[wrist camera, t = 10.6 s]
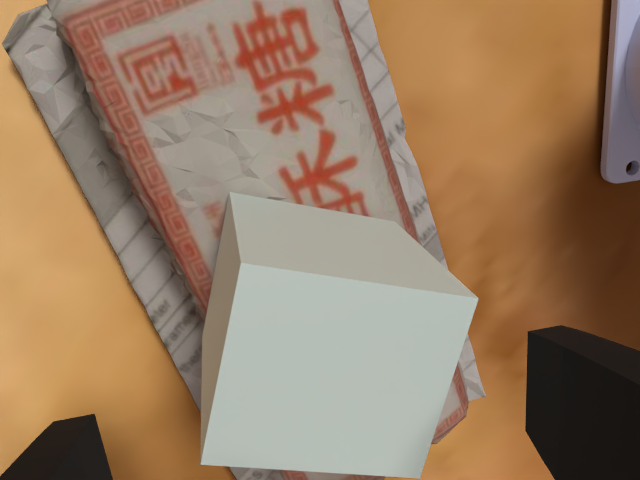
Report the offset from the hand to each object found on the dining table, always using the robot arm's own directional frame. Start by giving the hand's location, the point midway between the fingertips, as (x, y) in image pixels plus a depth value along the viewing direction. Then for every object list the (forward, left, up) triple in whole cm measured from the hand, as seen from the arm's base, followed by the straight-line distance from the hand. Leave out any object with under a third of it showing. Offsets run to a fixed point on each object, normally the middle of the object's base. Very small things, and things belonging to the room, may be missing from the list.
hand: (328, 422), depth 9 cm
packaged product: (0, 0, -11) cm, 11 cm away
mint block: (0, 0, -6) cm, 6 cm away
